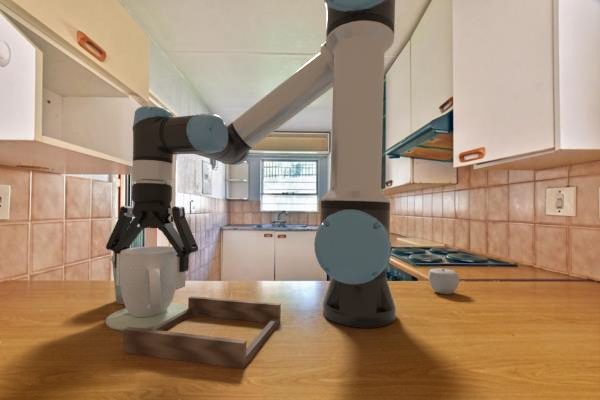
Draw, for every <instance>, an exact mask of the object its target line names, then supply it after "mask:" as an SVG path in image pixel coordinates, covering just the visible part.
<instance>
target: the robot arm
mask: <svg viewBox="0 0 600 400" xmlns="http://www.w3.org/2000/svg"><path fill="white" fill-rule="evenodd" d="M323 1H324V2H325V8H326V21H325V22H326V23H325V26H326V27H325V42H324V43H323V44H321V46H320V51H319V53H318V54H316V55H315V56H314V57H313V58H311V59H310V60H309V61H308V62H306V63H305V64H304V65H303V66H301V67H300V68H299V69H298V70H296V71H295V72H294V73H293V74H291V75H290V76H288V78H287V79H285V80H284V81H283V82H281V83H280V84H279V85H277V86H276V87H275V88H274V89H272V90H271V91H270V92H269V93H268V94H266V95H265V96H263V97H262V98H261V99H260V100H258V102H256V103H255V104H253V106H251V107H250V108H249V109H247V110H246V111H245V112H243V113H242V114H241V115H240V116H239V117H237V118H236V119H235V120H233V121H232V122H231V123H229V124H228V125H227V124H226V123H225V122H224V120H223V118H222V117H221V116H219V115H218V114H215V113H214V114H213V113H212V114H210V113H209V114H207V113H197V114H193V115H183V116H174V114H173V113H172V111H170V110H169V109H166V108H163V107H160V106H159V107H158V106H148V105H145V106H144V105H143V106H140V107H138V108H137V109H136V110H135V111H134V115H133V116H134V117H133V124H132V142H133V143H132V144H133V145H132V170H131V171H132V173H131V180H132V181H133V182H134V183H133V184H131V185H132V186H131V201H132V202H133V203H134V205H133V206H130V205H129V206H127V205H125V206H124V205H123V206H120V207H119V215H118V217H117V221H116V223H115V224H114V227H113V230H112V232H111V234H110V236H109V239H108V241H107V243H106V246H105V248H106V250H108V251H109V250H111V251H112V252H113V253H115V263H114V266H115V268H116V285H120V253H121V251H122V250H124V249H129V248H130V246H131V245H132V244H133V242H134V241H135V240H136V239H137V237H138V236H139V234H140V233H141V232H142V231H143V230H144V229H158V230H159V231H161V232H162V234H163V236H164V237H165V238H166V240H167V241H168V242H169V244H170V245H171V247H173V248H174V249H175V251H176V252H177V255H176V256H174V290H180V289H182V288H184V287H186V272H188V271H189V268H190V267H189V265H190V263H189V262H190V255H191V254H192V253H196V252H198V251H199V246H198V244H197V242H196V240H195V237H194V234H193V232H192V230H191V227H190V225H189V223H188V221H187V219H186V218H187V217H186V209H185V206H178V205H177V206H175V205H174V206H173V207H171V203H172V200H173V186H172V185H171V183H172V182H173V163H174V162H173V160H174V155H175V156H176V155H177V156H178V155H197V156H199V157H203V158H207V159H210V160H214V161H216V162H217V161H218V162H220V163H221V164H224V165H232V166H238V165H242V164H243V163H244V162H245V161H246V160H247V158H248V157H249V155H250V150H251V149H252V148H254V147H255V146H257V145H258V144H260V143H261V142H262V141H263V140H265V139H266V138H268V137H269V135H271V134H273V133H274V132H275V131H277V130H278V129H279V128H281V127H282V126H284V124H286V123H287V122H288V121H290V120H291V119H292V118H294V117H296V116H297V115H298V114H299V113H301V111H303V110H304V109H306V108H307V107H309V106H310V105H311V104H313V102H316V100H317V99H318V100H319V98H320V97H322V96H323V95H324V94H326V93H327V92H328V91H330V90H331V89H332V112H331V113H332V115H331V116H332V119H331V146H330V148H331V149H330V153H331V154H330V177H329V178H330V181H329V182H330V183H329V190H328V192H326V193H325V195H323V196H322V197H321V198H320V222H319V226H318V227H317V231H316V232H315V237H314V241H313V246H314V254H315V258H316V261H317V263H318V265H319V266H320V268H321V269H322V271H324V273H325V274H327V275H328V276H329V277H330V279H329V284H328V286H327V289H326V292H325V296H324V299H323V302H322V313H323V316H324V317H325V318H327V319H328V320H329V321H332V322H334V323H336V324H339V325H343V326H347V327H354V328H366V329H367V328H371V329H372V328H379V327H380V328H381V327H385V326H388V325H390V324H392V323H394V322H395V320H396V319H397V318H396V313H397V312H396V304H395V301H394V299H393V295H392V292H391V289H390V286H389V282H388V278H387V277H388V276H387V272H388V268H387V267H388V263H390V260H391V256H392V242H391V238H390V228H391V227H390V226H391V225H390V224H391V220H390V218H391V216H390V215H391V200H390V199H389V198H388V197H387V195H386V194H384V192H383V191H382V163H383V162H382V161H383V132H384V131H383V130H384V129H383V128H384V126H383V125H384V87H385V85H384V84H385V53H386V52H388V51H389V49H390V48H392V46H393V45H394V41H395V21H396V16H395V14H396V0H323ZM133 217H134V218H133ZM170 217H172V221H173V222H172V221H171V219H170ZM174 224H175V227H176V228H175V227H174Z"/></svg>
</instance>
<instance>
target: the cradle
mask: <svg viewBox="0 0 600 400" xmlns="http://www.w3.org/2000/svg"><path fill="white" fill-rule="evenodd" d="M187 299H188V301H187V303H188V304H187V305H188V306H187V307H188V309H187V310H185V311H183V312H181V313H179V314H177V315H176V316H174V317H172V318H170V319H168V320H167V321H165V322H163V323H161V324H159V325H157V326H156V327H154V328H152V329H143V328H135V327H127V328H125V329H123V331H122V332H123V333H122V334H123V336H122V337H123V338H122V352H123V353H125V354H127V353H128V354H133V355H141V356H147V357H154V358H162V359H168V360H170V359H171V360H178V361H183V362H191V363H197V364H206V365H212V366H217V367H218V366H220V367H227V368H234V369H241V370H244V369H245V367H246V366H248V364H249V362H250V361H251V360H252V359H253V357H254V356H255V354H257V352H258V351H259V350H260V348H261V347H262V346H263V344H265V342H266V341H267V339H268V338H269V337H270V336H271V335H272V333H273V332H274V330H275V329H276V328H277V327H278V326H279V324H280V323H281V314H282V313H281V311H282V310H281V306H282V305H281V303H277V302H276V303H274V302H265V301H264V302H262V301H253V300H239V299H229V298H228V299H227V298H214V297H207V296H206V297H205V296H202V297H201V296H193V295H190V296H189V297H188V298H187ZM191 316H201V317H211V318H219V319H229V320H230V319H231V320H240V321H248V322H249V321H251V322H260V323H267V324H266V325H265V326H264V328H263V329H262V330H261V331H260V332H259V334H258V335H256V336H255V338H254V339H253V340H252V341H251V342H250V343H249V345H247V340H245V339H238V338H229V337H219V336H210V335H203V334H194V333H186V332H177V331H176V332H175V331H168V330H169V329H171V328H172V326H173V327H174V326H176V325H177V323H178V324H179V323H181V322H182V320H183V321H185V320H186V319H188V318H190V317H191ZM187 317H188V318H187ZM180 321H181V322H180ZM170 327H171V328H170ZM167 329H168V330H167ZM165 330H166V331H165Z"/></svg>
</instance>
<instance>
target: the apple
mask: <svg viewBox="0 0 600 400" xmlns="http://www.w3.org/2000/svg"><path fill="white" fill-rule="evenodd" d="M427 277H428V283H429V284H430V287H431V288H432V289H433V291H434V292H435V293H437V294H441V295H442V294H443V295H450V294H453V293H455V291H456V290H457V289H458V286H459V283H460V278H459V275H458V273H457V272H456V271H455V270H453V269H449V268H443V267H442V268H441V267H437V268H436V267H435V268H430V269H429V271H428V274H427Z"/></svg>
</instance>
